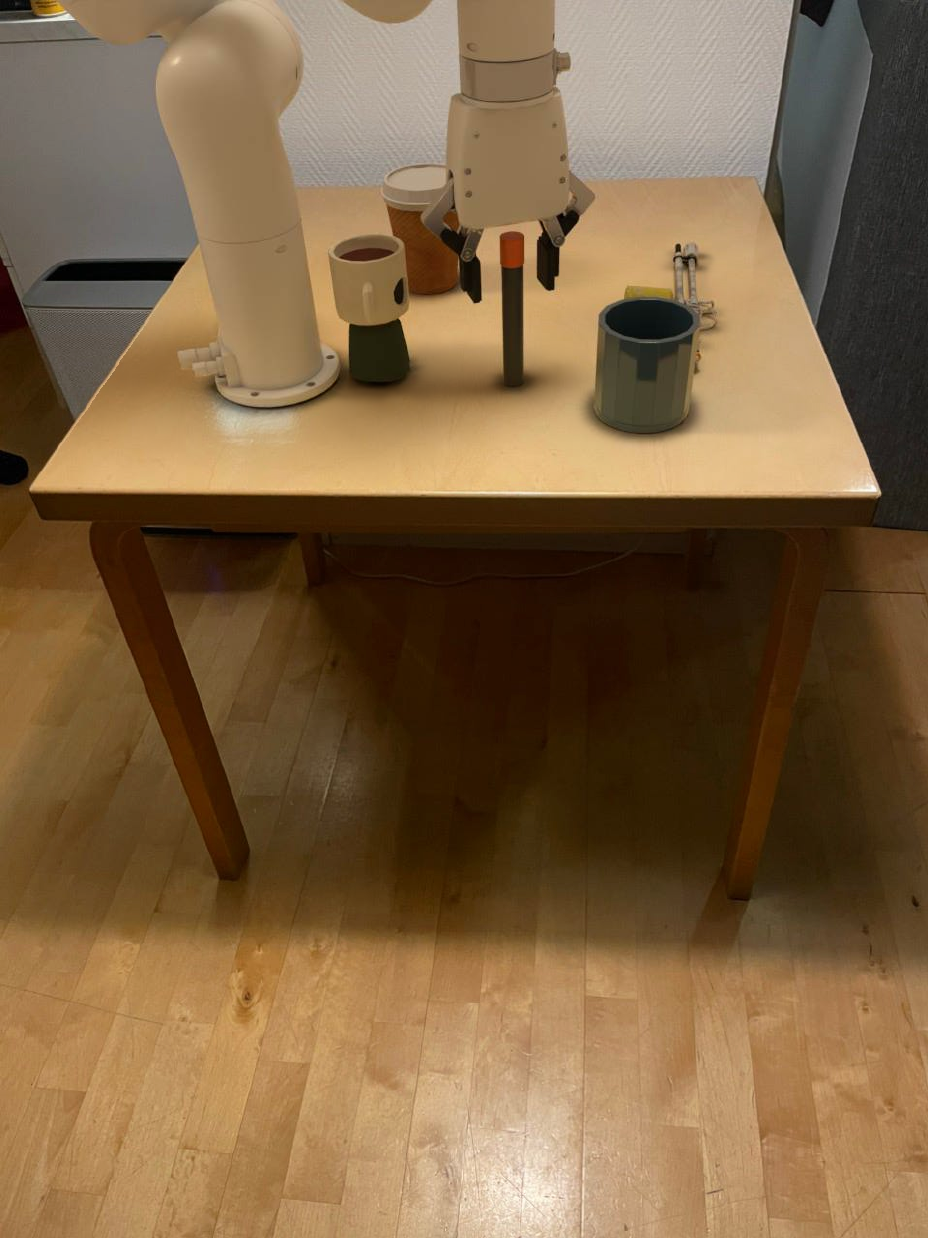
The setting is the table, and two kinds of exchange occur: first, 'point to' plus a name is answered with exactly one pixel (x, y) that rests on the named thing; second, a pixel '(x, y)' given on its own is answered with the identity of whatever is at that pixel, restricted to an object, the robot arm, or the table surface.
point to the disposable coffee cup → (420, 226)
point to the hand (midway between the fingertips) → (509, 289)
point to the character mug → (372, 303)
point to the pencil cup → (645, 363)
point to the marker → (512, 306)
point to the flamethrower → (678, 285)
